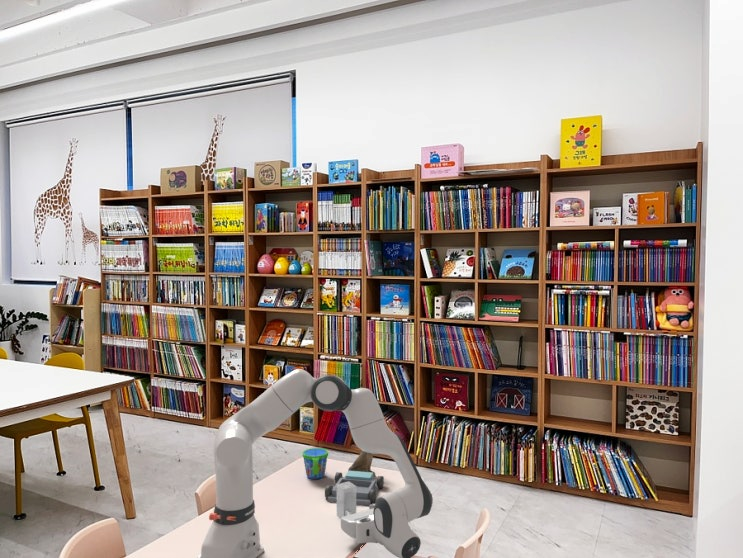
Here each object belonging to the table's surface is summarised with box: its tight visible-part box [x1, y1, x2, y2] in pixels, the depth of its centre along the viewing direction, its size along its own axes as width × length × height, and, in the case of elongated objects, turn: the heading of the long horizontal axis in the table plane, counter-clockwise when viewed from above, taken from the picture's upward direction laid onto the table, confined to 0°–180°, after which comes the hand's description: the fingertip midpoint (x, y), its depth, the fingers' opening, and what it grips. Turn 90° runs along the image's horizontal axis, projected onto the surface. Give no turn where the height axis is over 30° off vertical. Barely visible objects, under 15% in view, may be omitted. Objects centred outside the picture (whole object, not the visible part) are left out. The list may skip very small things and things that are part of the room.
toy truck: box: [324, 470, 385, 506], centre depth 211 cm, size 20×19×4 cm
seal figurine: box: [347, 450, 376, 478], centre depth 228 cm, size 12×6×18 cm, turn 52°
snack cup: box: [302, 447, 329, 480], centre depth 227 cm, size 16×10×10 cm
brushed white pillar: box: [336, 481, 357, 520], centre depth 191 cm, size 5×5×11 cm
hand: (359, 509), depth 183 cm, fingers open, 8 cm apart
